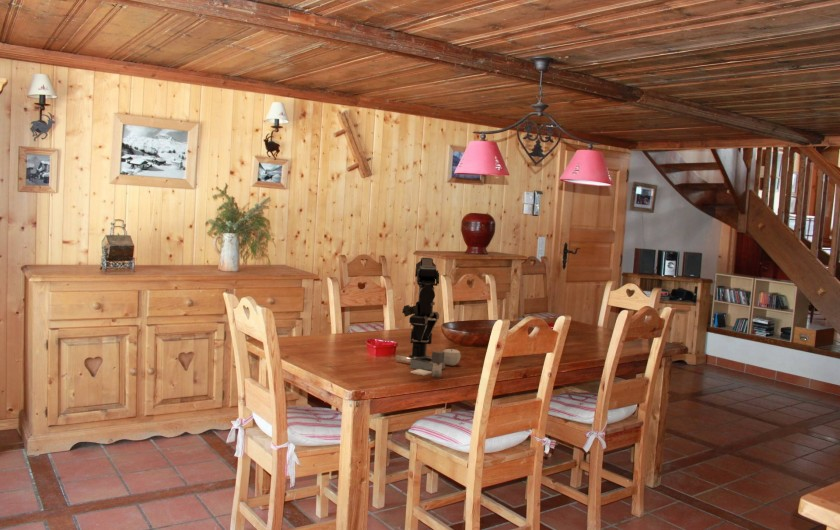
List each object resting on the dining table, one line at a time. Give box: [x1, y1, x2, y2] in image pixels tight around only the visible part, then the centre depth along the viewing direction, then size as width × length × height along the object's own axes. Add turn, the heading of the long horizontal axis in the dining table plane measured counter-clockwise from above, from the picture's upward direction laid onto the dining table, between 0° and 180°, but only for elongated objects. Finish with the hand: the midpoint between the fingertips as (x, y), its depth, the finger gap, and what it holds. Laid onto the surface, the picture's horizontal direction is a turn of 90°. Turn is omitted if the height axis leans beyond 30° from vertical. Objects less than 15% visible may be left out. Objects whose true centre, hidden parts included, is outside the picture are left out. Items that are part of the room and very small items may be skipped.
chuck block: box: [395, 354, 446, 372], centre depth 288 cm, size 10×20×4 cm, turn 57°
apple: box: [442, 348, 462, 367], centre depth 295 cm, size 8×8×7 cm
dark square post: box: [431, 350, 444, 379], centre depth 272 cm, size 3×3×10 cm
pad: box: [410, 369, 432, 376], centre depth 277 cm, size 6×6×1 cm
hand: (423, 339), depth 274 cm, fingers open, 9 cm apart
